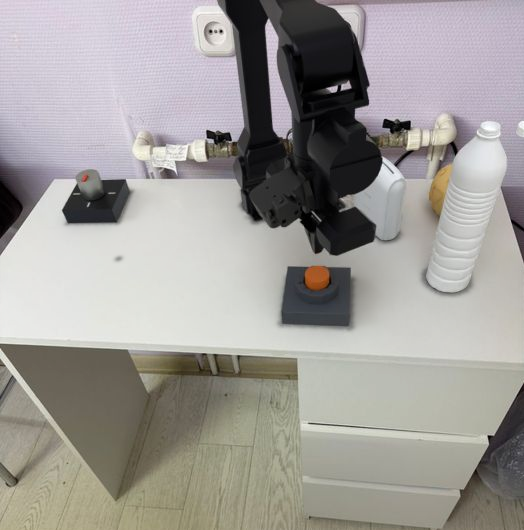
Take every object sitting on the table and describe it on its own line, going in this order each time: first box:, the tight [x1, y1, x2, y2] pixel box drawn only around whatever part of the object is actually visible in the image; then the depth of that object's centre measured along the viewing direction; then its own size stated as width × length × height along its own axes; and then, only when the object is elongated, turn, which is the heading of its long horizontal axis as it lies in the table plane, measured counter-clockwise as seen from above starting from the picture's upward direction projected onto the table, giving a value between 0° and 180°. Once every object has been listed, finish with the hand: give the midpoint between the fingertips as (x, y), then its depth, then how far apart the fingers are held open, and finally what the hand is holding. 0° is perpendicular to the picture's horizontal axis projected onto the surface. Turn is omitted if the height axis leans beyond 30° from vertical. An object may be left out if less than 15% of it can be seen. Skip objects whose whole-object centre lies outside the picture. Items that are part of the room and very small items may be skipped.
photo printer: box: [352, 156, 407, 241], centre depth 83 cm, size 10×4×12 cm, turn 26°
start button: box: [305, 265, 329, 290], centre depth 74 cm, size 4×4×2 cm
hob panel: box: [61, 178, 131, 224], centre depth 97 cm, size 10×10×3 cm
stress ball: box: [427, 162, 453, 217], centre depth 84 cm, size 10×10×10 cm
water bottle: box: [425, 120, 524, 294], centre depth 68 cm, size 9×6×25 cm
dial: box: [75, 168, 105, 201], centre depth 94 cm, size 4×4×4 cm
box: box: [280, 265, 352, 327], centre depth 76 cm, size 10×10×4 cm
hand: (317, 251), depth 70 cm, fingers closed
